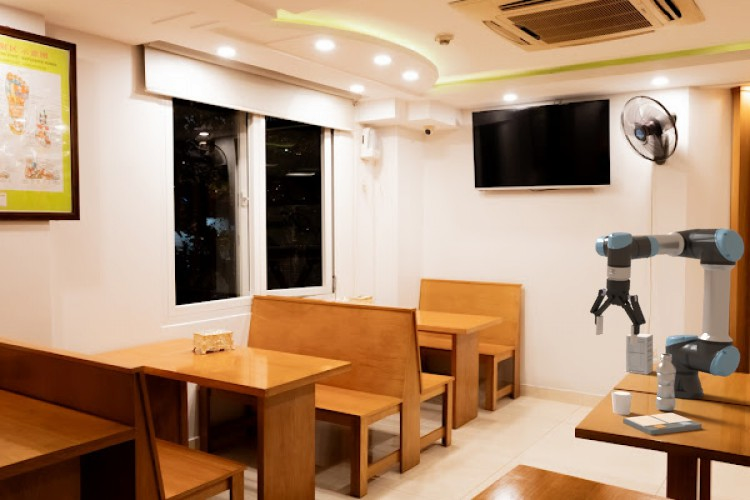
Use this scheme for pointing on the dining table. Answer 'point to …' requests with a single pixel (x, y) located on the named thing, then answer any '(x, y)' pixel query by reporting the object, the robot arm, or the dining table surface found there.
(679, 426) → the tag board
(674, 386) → the robot arm
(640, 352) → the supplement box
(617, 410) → the white cup
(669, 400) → the plastic bottle
